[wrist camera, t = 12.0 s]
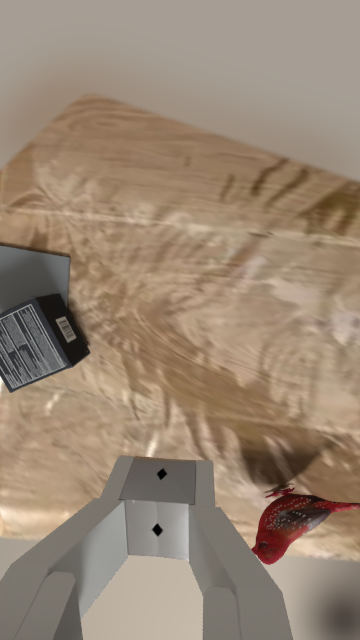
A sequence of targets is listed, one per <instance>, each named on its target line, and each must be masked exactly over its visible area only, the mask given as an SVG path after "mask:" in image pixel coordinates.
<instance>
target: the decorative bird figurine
mask: <svg viewBox="0 0 360 640" xmlns="http://www.w3.org/2000/svg"><path fill="white" fill-rule="evenodd" d="M294 488H295V487H294ZM294 488H293V489H292V490H291V489H290V488H288V489H285V490H279V491H275V492H274V493H273V494H271V495H269V496H266V498H268V497H270V496H279V495H284V496H282V497H280V498H278V499H276V500H275V501H273V502H272V503H271V504H270V505H269V506H268V507H267V508H266V509H265V510H264V512H263V514H262V516H261V518H260V521H259V526H258V533H257V536H256V545H255V547H253V548H252V549H251V550H252V552H253V553H254V554H256V555H257V556H258V558H259V559H260V560H261V561H262V562H263V563H265V564H268V565H269V564H273V563H275V562H276V561H277V560H279V559H280V558H281V557H282V556H283V555H284V553H285V552H286V550H287V548H288V547H289V545H290V544H291V543H292V542H293V541H295V540H296V539H297V538H299V537H300V536H302V535H304V534H306V533H307V532H309V531H311V530H312V529H313V528H315V527H316V526H318V525H319V524H320V523H321V522H322V521H324V520H325V519H326V518H327V517H328V516H329V515H330V514H331V513H332V512H337V511H344V510H350V509H357V508H360V503H341V502H332V501H328V500H325V499H322V498H319V497H317V496H314V495H300V494H292V493H288V492H291V491H293V490H294Z"/></svg>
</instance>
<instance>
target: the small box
mask: <svg viewBox="0 0 360 640" xmlns="http://www.w3.org/2000/svg"><path fill="white" fill-rule="evenodd" d="M89 354H90V351H89V349H88V347H87V345H86V343H85V342H84V340H83V338H82V336H81V334H80V332H79V330H78V328H77V326H76V324H75V322H74V321H73V319H72V317H71V315H70V313H69V311H68V309H67V307H66V305H65V303H64V301H63V299H62V298H61V295H60V294H59V293H51V294H47V295H39V296H33V297H31V298H30V299H29V300H27V301H25V302H23V303H21V304H19V305H17V306H15V307H12V308H10V309H8V310H6V311H4V312H2V313H0V376H1V378H2V380H3V381H4V383H5V385H6V387H7V388H8V390H9V392H10V393H12V392H14V391H16V390H18V389H20V388H22V387H25V386H27V385H29V384H32V383H35V382H37V381H39V380H42V379H44V378H46V377H49V376H51V375H54V374H56V373H58V372H61V371H63V370H65V369H69V368H72V367H74V366H75V365H76V364H77V363H79V362H80V361H81V360H83V359H84V358H85V357H86V356H88V355H89Z"/></svg>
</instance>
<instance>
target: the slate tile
mask: <svg viewBox="0 0 360 640" xmlns="http://www.w3.org/2000/svg"><path fill="white" fill-rule="evenodd" d="M70 259H71V258H70V257H64V256H58V255H53V254H47V253H41V252H35V251H30V250H24V249H18V248H12V247H7V246H1V245H0V313H2V312H4V311H6V310H8V309H10V308H12V307H15V306H17V305H19V304H21V303H23V302H25V301H27V300H29V299H30V298H31V297H33V296H39V295H47V294H51V293H59V294H60V295H61V298H62V299H63V301H64V303H65V305H66V307H67V305H68V290H69V274H70Z"/></svg>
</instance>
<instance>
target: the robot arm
mask: <svg viewBox="0 0 360 640" xmlns="http://www.w3.org/2000/svg"><path fill="white" fill-rule="evenodd" d="M128 555H138V556H139V555H140V556H156V557H158V556H159V557H165V558H173V559H182V560H189V564H190V566H191V568H192V571H193V573H194V576H195V578H196V580H197V583H198V585H199V587H200V590H201V592H202V595H203V598H204V599H203V640H293V637H292V633H291V629H290V625H289V620H288V616H287V611H286V607H285V603H284V599H283V594H282V592H281V590H280V589H279V588H278V586H277V585H276V584H275V582H274V581H273V579H272V578H271V576H270V575H269V574H268V572H267V571H266V570H265V568H264V567H263V565H262V564H261V563H260V561H259V560H258V559H257V557H256V556H255V554H254V553H253V552H252V550H251V549H250V547H249V546H248V545H247V543H246V542H245V541H244V539H243V538H242V536H241V535H240V534H239V532H238V531H237V530H236V528H235V527H234V525H233V524H232V523H231V521H230V520H229V519H228V517H227V516H226V514H225V513H224V512H223V510H222V509H221V508H220V507H215V492H214V470H213V462H212V460H197V463H196V460H180V459H163V458H151V457H139V456H136V457H134V456H123V455H120V457H119V458H118V459H117V461H116V463H115V465H114V468H113V470H112V472H111V474H110V477H109V479H108V481H107V483H106V486H105V488H104V490H103V493H102V495H101V497H100V499H99V498H95V499H93V500H92V501H91V502H90V503H88V504H87V505H86V506H85V507H83V508H82V509H81V510H79V511H78V512H77V513H76V514H74V515H73V516H72V517H71V518H69V519H68V520H67V521H66V522H64V523H63V524H62V525H60V526H59V527H58V528H57V529H55V530H54V531H53V532H52V533H50V534H49V535H48V536H46V537H45V538H44V539H43V540H41V541H40V542H39V543H38V544H36V545H35V546H34V547H33V548H31V549H30V550H29V551H27V552H26V553H25V554H24V555H22V556H21V557H20V558H19V559H17V560H16V561H15V562H14V563H12V564H11V565H10V567H9V569H8V570H7V571H6V573H5V575H4V576H3V578H2V579H1V581H0V640H83V635H82V628H81V618H82V617H83V616H84V614H85V613H86V611H87V610H88V609H89V608H90V607H91V605H92V604H93V602H94V601H95V600H96V599H97V597H98V596H99V595H100V593H101V592H102V591H103V589H104V588H105V587H106V585H107V584H108V583H109V581H110V580H111V579H112V578H113V576H114V575H115V574H116V572H117V571H118V570H119V568H120V567H121V566H122V564H123V563H124V562H125V561H126V559H127V558H128Z"/></svg>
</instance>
